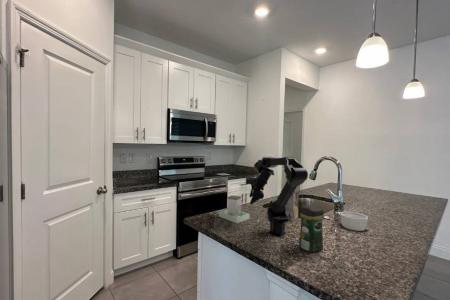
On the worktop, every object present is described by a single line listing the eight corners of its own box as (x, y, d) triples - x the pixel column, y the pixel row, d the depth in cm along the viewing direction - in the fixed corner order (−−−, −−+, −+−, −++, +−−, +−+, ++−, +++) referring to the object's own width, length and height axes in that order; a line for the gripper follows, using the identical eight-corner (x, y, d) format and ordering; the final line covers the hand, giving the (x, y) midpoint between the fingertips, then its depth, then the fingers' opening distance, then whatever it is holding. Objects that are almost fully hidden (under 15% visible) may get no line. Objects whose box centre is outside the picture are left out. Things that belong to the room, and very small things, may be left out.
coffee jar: (310, 242, 98) (312, 202, 98) (326, 249, 91) (327, 206, 90) (295, 246, 94) (296, 204, 93) (309, 254, 86) (311, 209, 86)
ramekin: (340, 221, 127) (340, 210, 127) (366, 226, 121) (367, 214, 121) (339, 228, 116) (339, 215, 116) (368, 234, 109) (369, 220, 109)
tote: (249, 219, 126) (249, 214, 126) (236, 223, 119) (236, 218, 119) (231, 212, 137) (231, 208, 137) (218, 216, 130) (218, 211, 130)
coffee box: (288, 215, 136) (288, 190, 136) (298, 217, 132) (299, 191, 132) (282, 219, 129) (283, 192, 128) (293, 221, 125) (293, 194, 124)
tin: (240, 216, 129) (241, 196, 129) (236, 219, 124) (237, 198, 124) (231, 214, 132) (232, 195, 132) (226, 217, 127) (227, 197, 127)
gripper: (250, 166, 129) (238, 187, 132) (251, 176, 110) (237, 201, 114) (266, 174, 129) (254, 195, 132) (270, 186, 111) (255, 210, 114)
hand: (250, 200), depth 123 cm, fingers open, 9 cm apart
